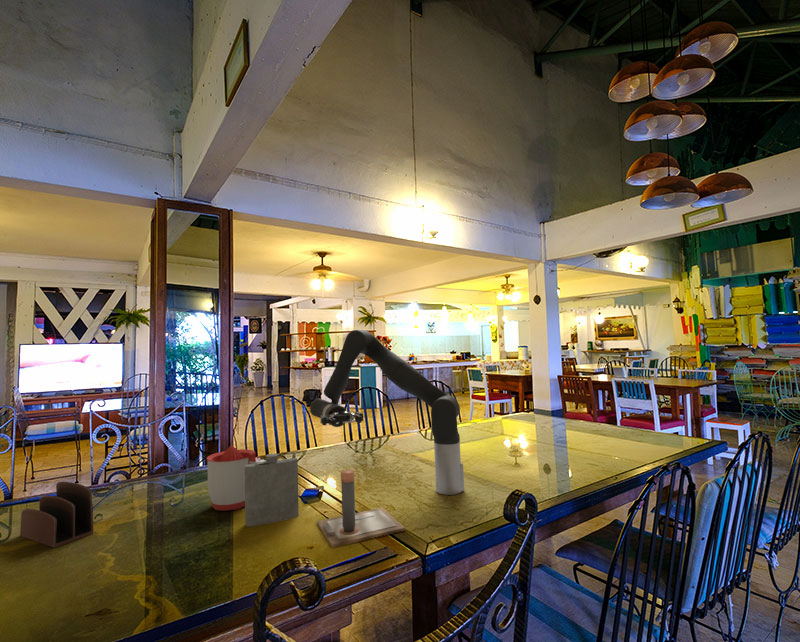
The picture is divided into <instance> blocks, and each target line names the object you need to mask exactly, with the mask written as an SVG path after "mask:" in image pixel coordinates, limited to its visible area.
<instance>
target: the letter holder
mask: <svg viewBox="0 0 800 642" xmlns="http://www.w3.org/2000/svg"><path fill="white" fill-rule="evenodd" d="M55 486H56V487H55V488H56V489H55V490H56V491H55V493H56V495H41V496H40V497H39V504H38V505H39V507H38V508H39V509H33V508H24V509H22V510H21V513H20V531H19V536H20V537H23V538H25V539H28V540H31V541H34V542H36V543H39V544H42V545H44V546H47V547H50V548H53V549H57V548H58V547H62V546H64V545H66V544H69V543H72V542H74V541H75V542H76V541H77V540H80V539H82V538H85V537H88V536H91V535H93V534H94V511H93V510H94V507H93V491H92V489H91V488H90V487H87V486H85V485H83V484H81V483H76V482H71V481H58V482H57V483H56V485H55Z"/></svg>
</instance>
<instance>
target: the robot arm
mask: <svg viewBox="0 0 800 642" xmlns="http://www.w3.org/2000/svg"><path fill="white" fill-rule="evenodd" d="M360 354H363V355H364V356H366V357H368V358H369V359H371V361H373V362H374V363H376V364H377V366H378V367H379V369H380V371H381V372H382V373H383V374H384V375H385V377H386V378H387V379H388V381H390V382H392V383H393V385H395V386H396V387H397V388H399V389H401V390H403V392H406V393H408V394H410V395H411V396H414V397H416V398H418V399H420V400H422V401H423V402H425V404H427V405H428V406H429V407H430V408H431V409H430V418H431V419H430V421H431V433H432V436H433V446H434V447H433V449H434V472H435V491H436V493H437V494H440V495H445V496H451V495H452V496H453V495H459V494H460V493H462V492H464V491H465V473H464V463H463V462H462V461H461V460H462V459H461V441H460V437H461V436H460V433H459V430H458V419H457V418H458V417H459V415H460V413H461V407H460V404H459V401H458V400H457V399H456V398H455V397H453V396H452V395H450V394H449V393H447V392H445V391H444V390H443V389H440V388H439V387H438V386H436V385H434V384H433V383H432V382H431V381H430V380H428V379H427V378H426V377H425V376H424V375H423V374H422V373H420V371H418V370H417V369H415V368H414V367H413V366H412V365H411V364H409V363H408V362H407V361H406V360H404V359H403V358H401V357H400V356H398V355H397V354H396V353H394V352H393V351H391V350H390V349H389V348H387V347H386V346H385V345H383V344H382V342H380V340H378V339H377V338H376V336H374V335H373V333H371V332H369V331H368V330H365V329H353V330H351V331H350V332H348V334H347V335H346V338H345V339H344V343H343V346H342V348H341V352H340V354H339V357H338V360H337V362H336V365H335V367H334V369H333V372H332V374H331V376H330V378H329V380H328V382H327V384H326V385H325V388H324V390H323V394H324V396H326V398H328V399H329V400H330V401H329V400H325V399H322V398H316V399H314V400H313V401H312V402H311V403H310V405H309V406H310V407H309V409H310V410H309V412H310V414H311V415H312V416H314V417H316V418H319V420H320V421H319V422H320V424H321V425H322V426H327V425H328V426H332V427H334V428H340V427H342V426H344V425H345V424H353V423H358V424H361V423H363V422H364V413H363V412H359V411H355V412H353V411H352V412H350V411H348V410H347V409H346V408H345V407H344V406H342V405H340V404H339V402H340V400H341V397H342V394H343V393H344V391H345V389H346V387H347V385H348V383H349V379H350V375H351V370H352V367H353V366H354V363H355V361H356V359H357V358H358V356H359V355H360Z"/></svg>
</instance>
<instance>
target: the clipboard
mask: <svg viewBox="0 0 800 642" xmlns="http://www.w3.org/2000/svg"><path fill="white" fill-rule="evenodd" d="M316 525H317V526H318V528H319V529H320V532H322V534H323V536H324V537H325V539H326V541H327V543H328V544H329V546H330V547H331V548H334V549H335V548H336V547H340V546H341V547H342V546H346V545H350V544H354V543H358V542H361V541H362V540H363V541H366V539H367V540H370V539H369V538H371V539H376V538H379V537H378V536H380V537H383V536H382V535H384V536H388V535H391V534H392V535H393V534H395V533H394V532H397V533H399V532H398V531H401V532H405V531H404V530H406V529H405V527H404V526H403V525H402V524H401V523H400V522H399V521H398V520H397V519H395V517H393V516H392V515H391V514H390V513H389V512H388V511H387V510H385V509H384V508H383V507H378V508H373V509H370V510H364V511H358V512H355V530H354V531H353V532H344V528H343V522H342V515H340V516H335V517H331V518H330V517H329V518H326V519H325V518H324V519H322V520H321V519H320V520H317V521H316ZM375 537H376V538H375ZM363 541H362V542H363Z"/></svg>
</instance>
